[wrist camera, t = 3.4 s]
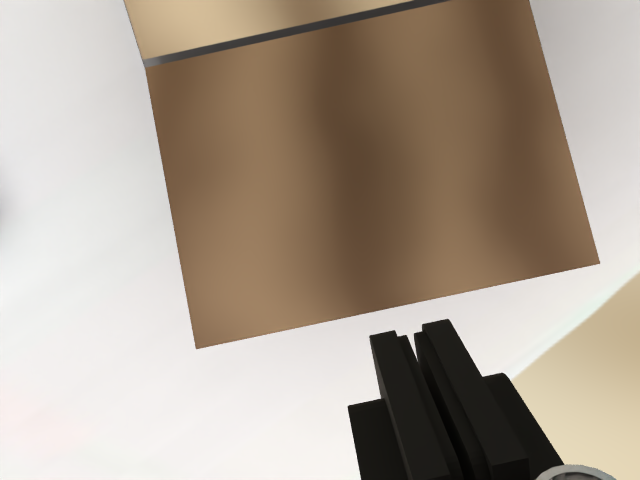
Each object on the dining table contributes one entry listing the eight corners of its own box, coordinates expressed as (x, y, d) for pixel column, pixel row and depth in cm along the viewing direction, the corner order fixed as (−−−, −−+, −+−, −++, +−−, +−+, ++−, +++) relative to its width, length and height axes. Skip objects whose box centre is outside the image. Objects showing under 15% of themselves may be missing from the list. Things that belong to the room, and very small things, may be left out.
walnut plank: (509, 11, 24) (524, -16, 22) (577, 267, 22) (600, 263, 20) (161, 87, 24) (144, 67, 22) (208, 345, 23) (196, 349, 21)
